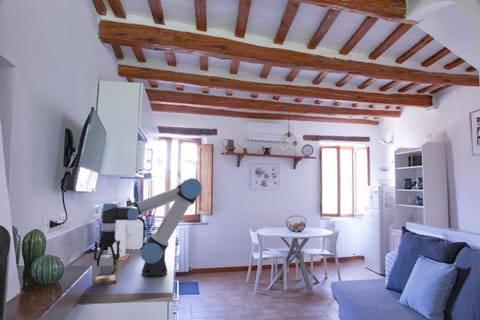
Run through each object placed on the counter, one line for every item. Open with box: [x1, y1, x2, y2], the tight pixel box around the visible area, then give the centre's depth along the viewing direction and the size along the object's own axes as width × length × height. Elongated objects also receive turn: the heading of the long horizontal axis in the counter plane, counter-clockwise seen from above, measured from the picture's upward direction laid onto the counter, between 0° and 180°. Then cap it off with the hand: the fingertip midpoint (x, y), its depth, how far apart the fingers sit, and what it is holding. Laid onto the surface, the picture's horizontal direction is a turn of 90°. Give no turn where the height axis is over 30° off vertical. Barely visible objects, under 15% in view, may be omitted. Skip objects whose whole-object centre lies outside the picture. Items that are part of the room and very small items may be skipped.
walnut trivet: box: [94, 274, 117, 286], centre depth 181 cm, size 11×11×2 cm
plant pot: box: [106, 253, 121, 271], centre depth 205 cm, size 9×9×9 cm
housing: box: [99, 254, 113, 275], centre depth 182 cm, size 6×7×9 cm
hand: (105, 271), depth 182 cm, fingers closed on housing, 6 cm apart
